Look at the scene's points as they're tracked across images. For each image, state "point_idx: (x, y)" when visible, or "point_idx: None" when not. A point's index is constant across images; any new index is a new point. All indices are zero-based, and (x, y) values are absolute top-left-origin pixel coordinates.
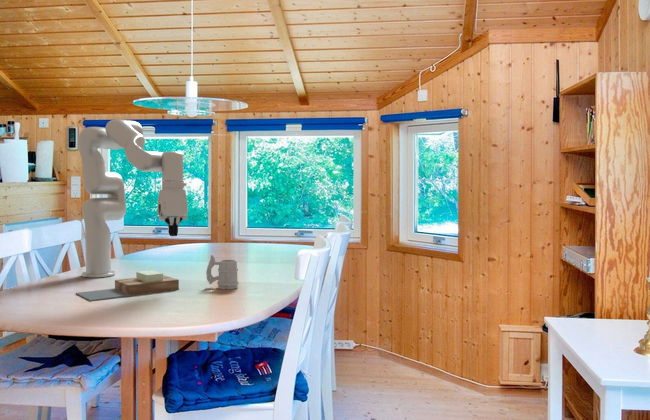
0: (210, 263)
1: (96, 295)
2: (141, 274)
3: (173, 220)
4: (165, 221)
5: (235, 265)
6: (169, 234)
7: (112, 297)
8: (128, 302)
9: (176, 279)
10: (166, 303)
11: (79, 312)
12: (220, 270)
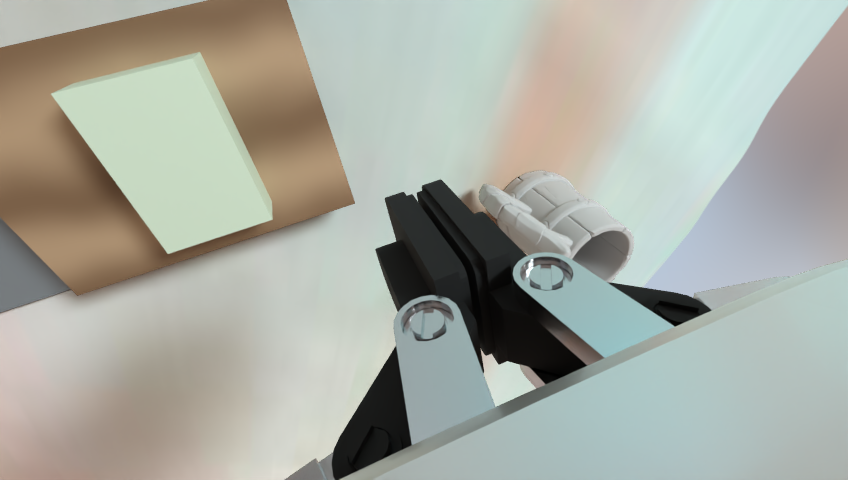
0: (529, 242)
1: None
2: (119, 183)
3: (555, 321)
4: (364, 421)
5: (598, 272)
6: (388, 205)
7: (10, 308)
8: (124, 372)
9: (345, 194)
10: (273, 391)
11: None
12: None
